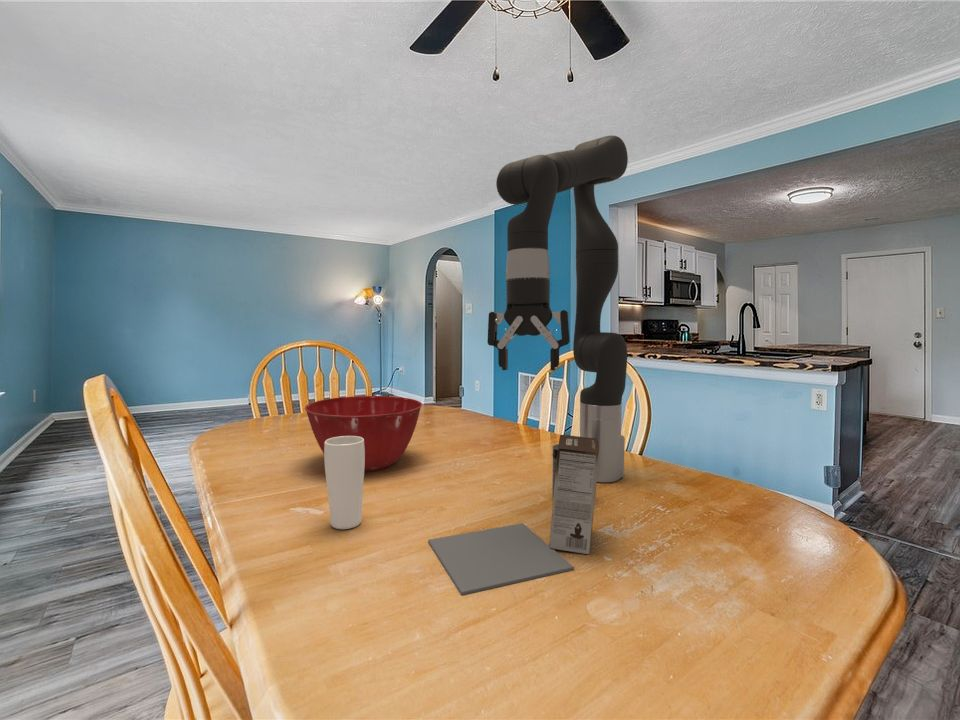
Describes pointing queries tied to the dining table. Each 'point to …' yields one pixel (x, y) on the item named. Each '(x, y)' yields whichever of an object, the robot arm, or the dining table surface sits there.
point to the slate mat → (496, 557)
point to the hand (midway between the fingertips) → (528, 370)
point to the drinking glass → (345, 479)
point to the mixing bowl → (367, 424)
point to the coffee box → (574, 493)
